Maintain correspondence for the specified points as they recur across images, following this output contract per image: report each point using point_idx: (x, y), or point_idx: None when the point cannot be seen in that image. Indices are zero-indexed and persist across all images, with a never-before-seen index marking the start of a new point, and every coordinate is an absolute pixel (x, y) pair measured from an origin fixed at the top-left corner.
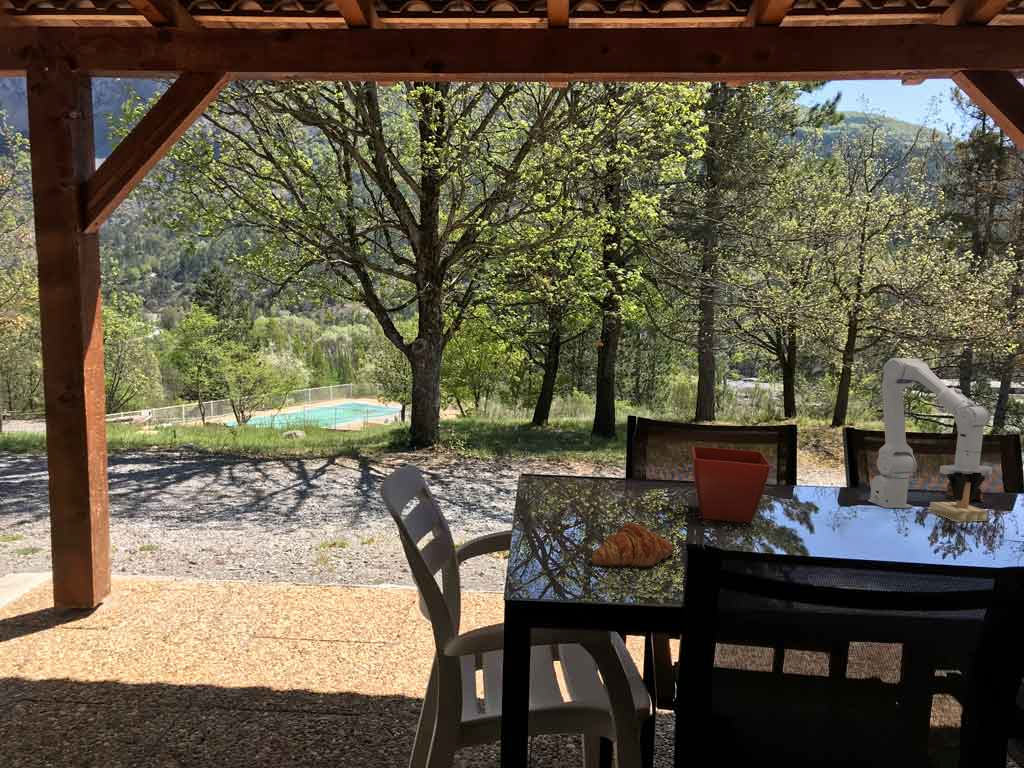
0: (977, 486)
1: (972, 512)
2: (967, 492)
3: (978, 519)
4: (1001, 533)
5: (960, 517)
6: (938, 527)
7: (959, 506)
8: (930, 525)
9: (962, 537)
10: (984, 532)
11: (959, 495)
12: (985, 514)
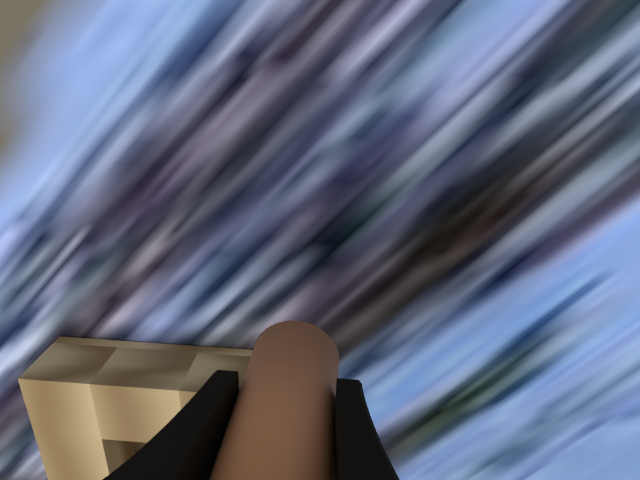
0: (131, 478)
1: (134, 382)
2: (277, 432)
3: (107, 348)
4: (136, 115)
5: (229, 365)
6: (486, 272)
7: (335, 354)
8: (500, 312)
9: (540, 44)
10: (248, 147)
11: (368, 419)
12: (45, 365)
